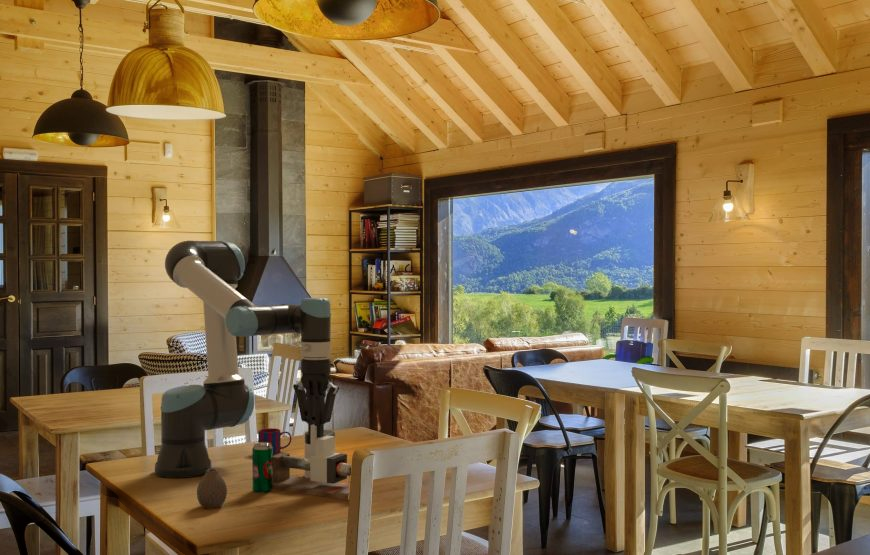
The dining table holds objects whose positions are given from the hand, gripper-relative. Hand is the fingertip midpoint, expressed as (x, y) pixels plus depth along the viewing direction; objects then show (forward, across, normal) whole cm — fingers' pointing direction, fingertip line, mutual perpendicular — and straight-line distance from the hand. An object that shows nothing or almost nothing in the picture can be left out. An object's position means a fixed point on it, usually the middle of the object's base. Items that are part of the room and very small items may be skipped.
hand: (316, 449), depth 218 cm
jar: (+10, -7, +11) cm, 17 cm away
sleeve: (+7, +3, 0) cm, 8 cm away
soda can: (+10, -11, -8) cm, 17 cm away
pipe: (+6, +1, 0) cm, 6 cm away
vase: (+10, -13, -25) cm, 30 cm away
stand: (+10, +1, 0) cm, 10 cm away
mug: (+10, -36, +30) cm, 48 cm away
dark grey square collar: (+7, +6, 0) cm, 10 cm away
